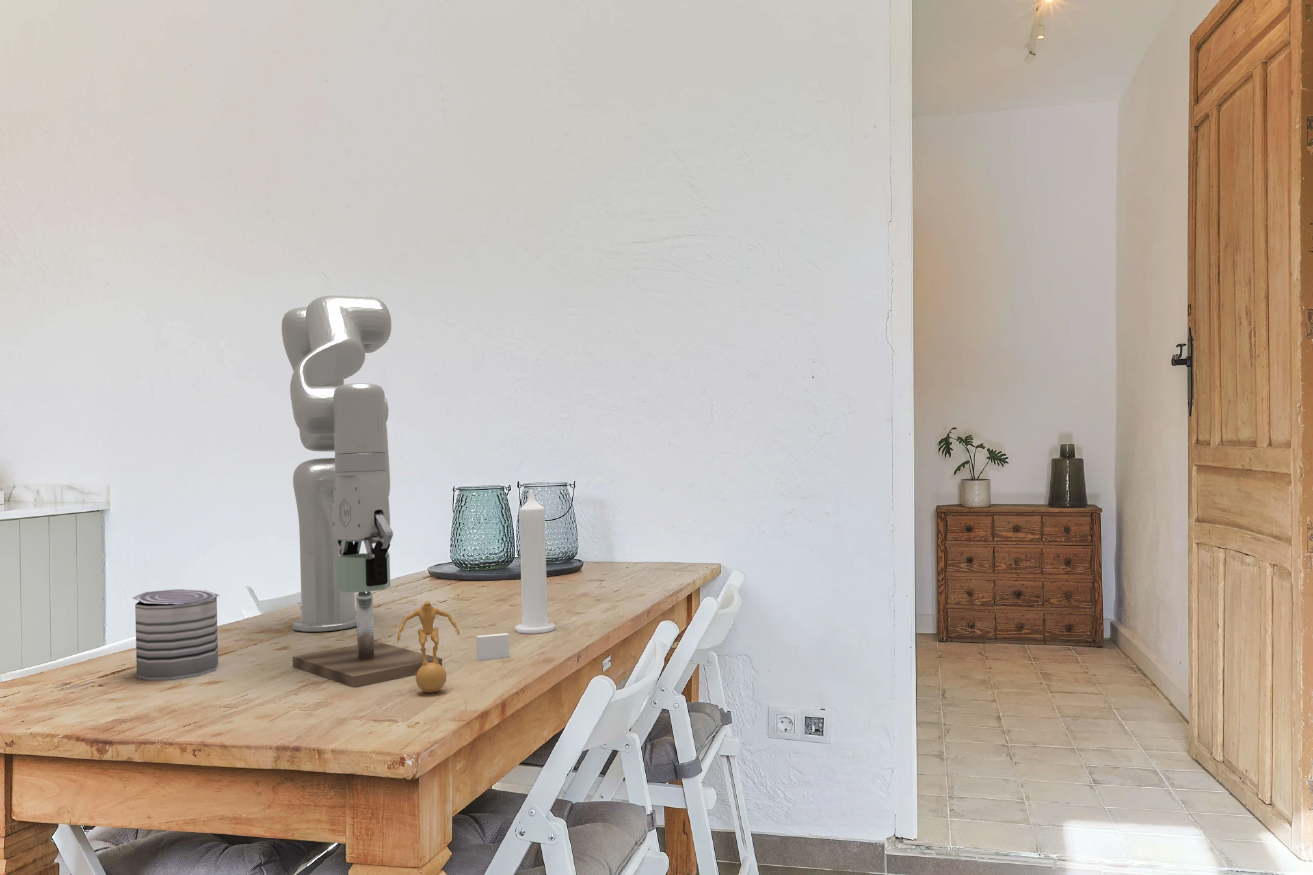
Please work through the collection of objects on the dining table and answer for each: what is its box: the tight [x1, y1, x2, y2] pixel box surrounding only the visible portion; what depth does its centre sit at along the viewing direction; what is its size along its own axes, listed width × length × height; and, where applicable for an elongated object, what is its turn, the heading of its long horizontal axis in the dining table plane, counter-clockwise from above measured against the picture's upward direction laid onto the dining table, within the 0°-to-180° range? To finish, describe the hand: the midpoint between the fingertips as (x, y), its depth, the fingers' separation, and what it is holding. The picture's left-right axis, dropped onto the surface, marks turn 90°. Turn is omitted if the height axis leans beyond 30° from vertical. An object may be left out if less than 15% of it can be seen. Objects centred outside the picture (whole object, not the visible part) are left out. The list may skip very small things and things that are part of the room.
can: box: [132, 588, 220, 682], centre depth 145 cm, size 11×11×12 cm
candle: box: [514, 489, 556, 635], centre depth 170 cm, size 7×7×25 cm
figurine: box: [396, 600, 460, 694], centre depth 129 cm, size 8×6×12 cm
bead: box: [337, 552, 391, 593], centre depth 144 cm, size 7×7×5 cm
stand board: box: [292, 641, 443, 688], centre depth 144 cm, size 20×14×2 cm
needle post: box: [355, 591, 375, 659], centre depth 144 cm, size 2×2×10 cm
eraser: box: [476, 632, 510, 662], centre depth 148 cm, size 1×5×4 cm, turn 109°
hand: (364, 582), depth 144 cm, fingers closed on bead, 7 cm apart
